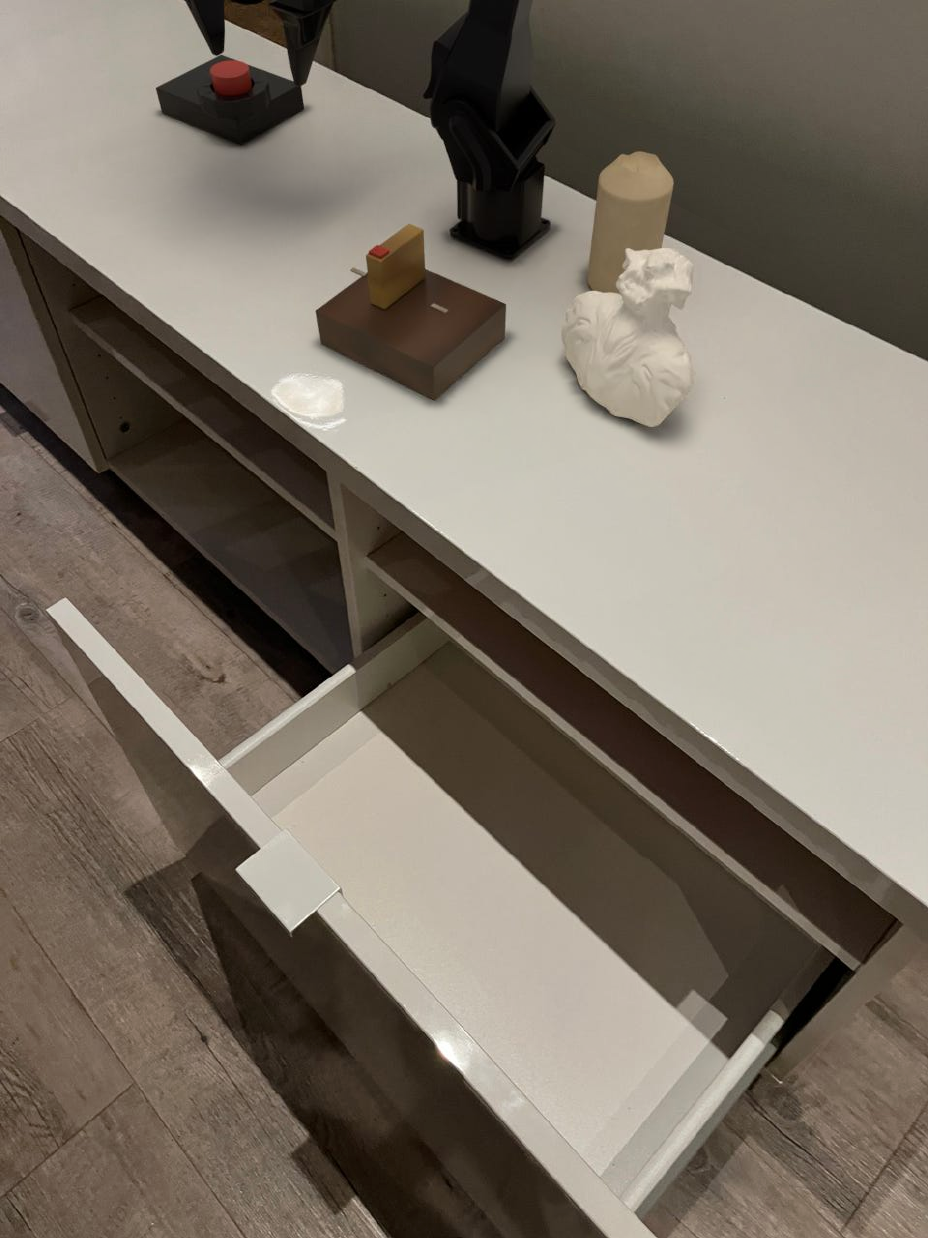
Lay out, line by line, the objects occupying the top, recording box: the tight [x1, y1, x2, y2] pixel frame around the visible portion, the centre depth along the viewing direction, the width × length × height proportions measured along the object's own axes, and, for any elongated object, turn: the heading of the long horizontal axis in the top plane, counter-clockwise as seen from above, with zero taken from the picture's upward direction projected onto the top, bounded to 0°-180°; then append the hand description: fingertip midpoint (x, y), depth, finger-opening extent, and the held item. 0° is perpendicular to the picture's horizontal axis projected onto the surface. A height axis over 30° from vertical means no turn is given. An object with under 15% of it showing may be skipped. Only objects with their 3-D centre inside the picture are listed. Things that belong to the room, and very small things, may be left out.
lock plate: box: [315, 266, 507, 401], centre depth 70 cm, size 12×9×3 cm
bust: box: [561, 247, 697, 428], centre depth 64 cm, size 12×8×11 cm
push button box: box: [155, 54, 305, 146], centre depth 90 cm, size 12×10×4 cm
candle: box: [587, 151, 675, 296], centre depth 71 cm, size 6×6×10 cm
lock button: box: [210, 59, 252, 96], centre depth 87 cm, size 4×4×2 cm
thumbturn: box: [365, 223, 426, 309], centre depth 68 cm, size 5×1×4 cm, turn 144°
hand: (258, 68), depth 77 cm, fingers open, 9 cm apart
